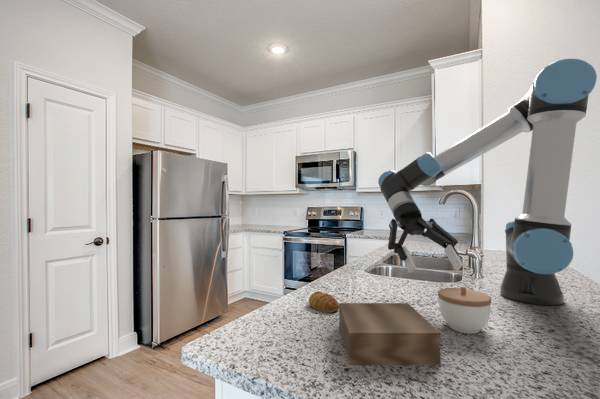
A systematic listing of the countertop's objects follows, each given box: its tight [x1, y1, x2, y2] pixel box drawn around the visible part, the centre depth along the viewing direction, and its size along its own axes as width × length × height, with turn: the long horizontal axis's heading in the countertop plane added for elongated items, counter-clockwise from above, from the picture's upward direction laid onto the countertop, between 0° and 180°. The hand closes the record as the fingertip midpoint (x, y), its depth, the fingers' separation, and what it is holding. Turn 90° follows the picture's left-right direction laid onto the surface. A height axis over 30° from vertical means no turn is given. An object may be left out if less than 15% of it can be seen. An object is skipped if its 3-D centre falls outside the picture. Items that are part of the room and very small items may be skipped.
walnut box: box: [338, 302, 442, 366], centre depth 60 cm, size 16×16×6 cm
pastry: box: [308, 290, 339, 313], centre depth 81 cm, size 9×7×4 cm
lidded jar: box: [437, 286, 492, 335], centre depth 67 cm, size 11×11×9 cm
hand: (436, 269), depth 75 cm, fingers open, 13 cm apart
